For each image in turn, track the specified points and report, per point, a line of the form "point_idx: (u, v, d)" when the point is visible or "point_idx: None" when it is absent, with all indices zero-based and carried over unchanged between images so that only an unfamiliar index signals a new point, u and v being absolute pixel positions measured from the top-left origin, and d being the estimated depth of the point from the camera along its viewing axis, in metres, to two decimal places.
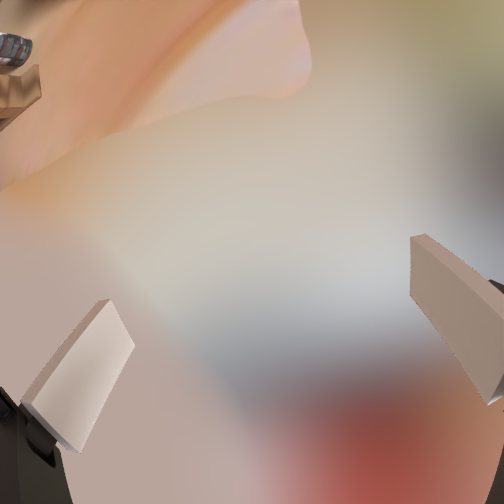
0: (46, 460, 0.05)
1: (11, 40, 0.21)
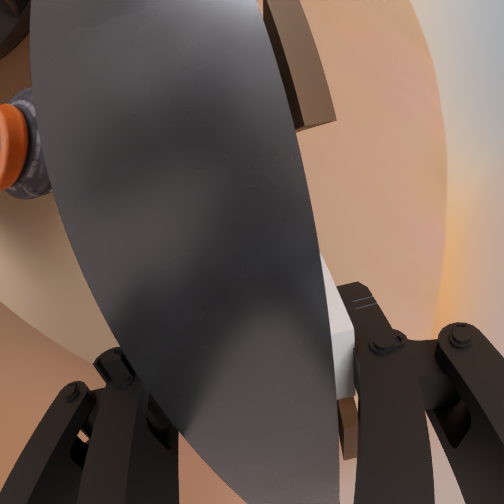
0: (158, 436, 0.07)
1: None
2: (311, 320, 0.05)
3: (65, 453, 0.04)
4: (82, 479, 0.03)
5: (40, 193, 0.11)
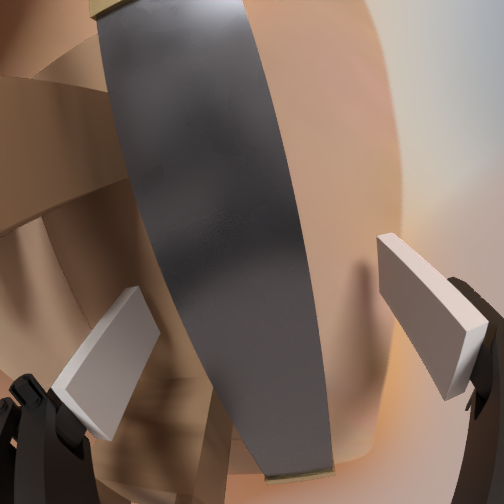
0: (74, 451, 0.06)
1: None
2: (294, 251, 0.07)
3: (4, 455, 0.04)
4: (15, 485, 0.03)
5: None
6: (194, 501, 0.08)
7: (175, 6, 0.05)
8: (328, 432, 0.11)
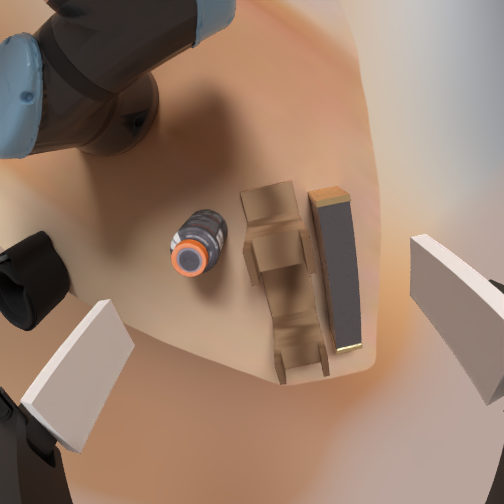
0: (46, 460, 0.05)
1: (192, 221, 0.33)
2: (354, 263, 0.35)
3: None
4: None
5: None
6: (324, 343, 0.36)
7: (337, 211, 0.32)
8: (360, 318, 0.38)
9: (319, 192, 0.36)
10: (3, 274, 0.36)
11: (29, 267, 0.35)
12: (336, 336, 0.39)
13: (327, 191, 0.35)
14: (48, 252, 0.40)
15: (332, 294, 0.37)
